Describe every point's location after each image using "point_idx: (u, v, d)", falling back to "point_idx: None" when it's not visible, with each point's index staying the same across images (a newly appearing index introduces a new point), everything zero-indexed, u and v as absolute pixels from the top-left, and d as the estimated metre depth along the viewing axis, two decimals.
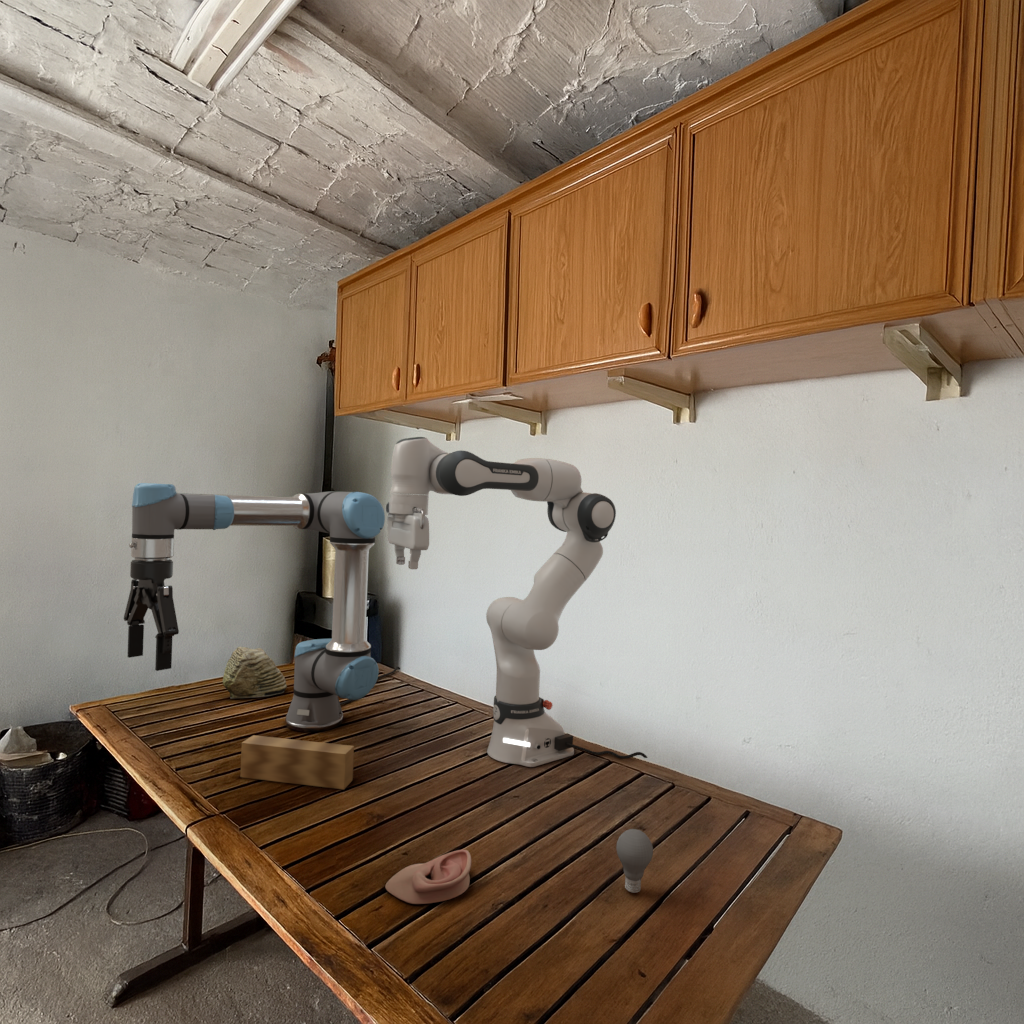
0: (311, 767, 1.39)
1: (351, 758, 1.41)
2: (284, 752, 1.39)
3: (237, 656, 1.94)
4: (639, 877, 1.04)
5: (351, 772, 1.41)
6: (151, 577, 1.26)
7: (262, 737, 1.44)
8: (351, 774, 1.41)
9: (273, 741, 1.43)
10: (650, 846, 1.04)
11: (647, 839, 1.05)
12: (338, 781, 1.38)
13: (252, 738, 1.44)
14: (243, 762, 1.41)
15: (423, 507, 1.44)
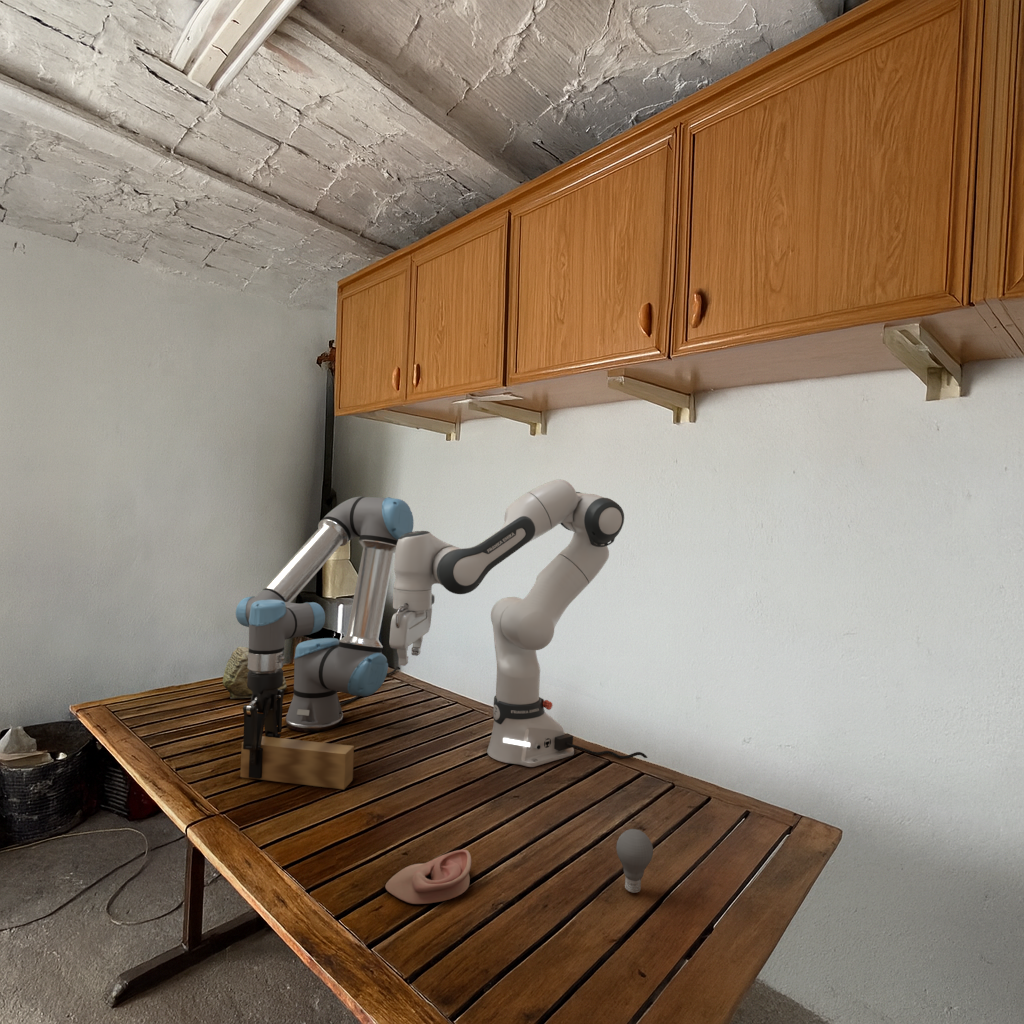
0: (311, 767, 1.39)
1: (351, 758, 1.41)
2: (284, 752, 1.40)
3: (237, 656, 1.94)
4: (639, 877, 1.04)
5: (351, 772, 1.41)
6: None
7: (262, 737, 1.44)
8: (351, 774, 1.41)
9: (273, 741, 1.43)
10: (650, 846, 1.04)
11: (647, 839, 1.05)
12: (338, 781, 1.38)
13: None
14: (243, 762, 1.41)
15: (416, 603, 1.43)
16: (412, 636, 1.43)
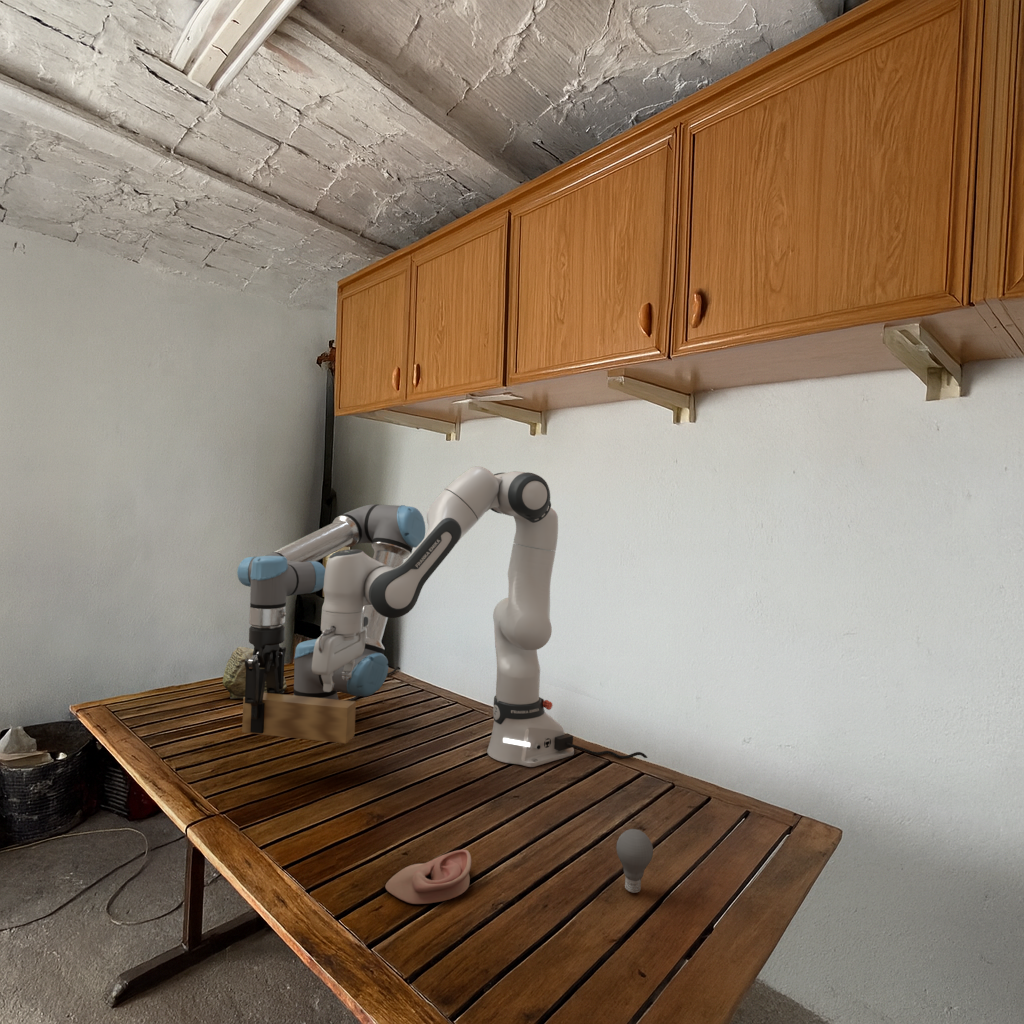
0: (313, 721, 1.38)
1: (352, 713, 1.40)
2: (285, 707, 1.39)
3: (237, 656, 1.94)
4: (639, 877, 1.04)
5: (353, 727, 1.41)
6: None
7: (264, 693, 1.44)
8: (353, 729, 1.41)
9: (275, 696, 1.43)
10: (650, 846, 1.04)
11: (647, 839, 1.05)
12: (340, 735, 1.38)
13: None
14: (245, 717, 1.41)
15: (344, 626, 1.36)
16: (339, 661, 1.36)
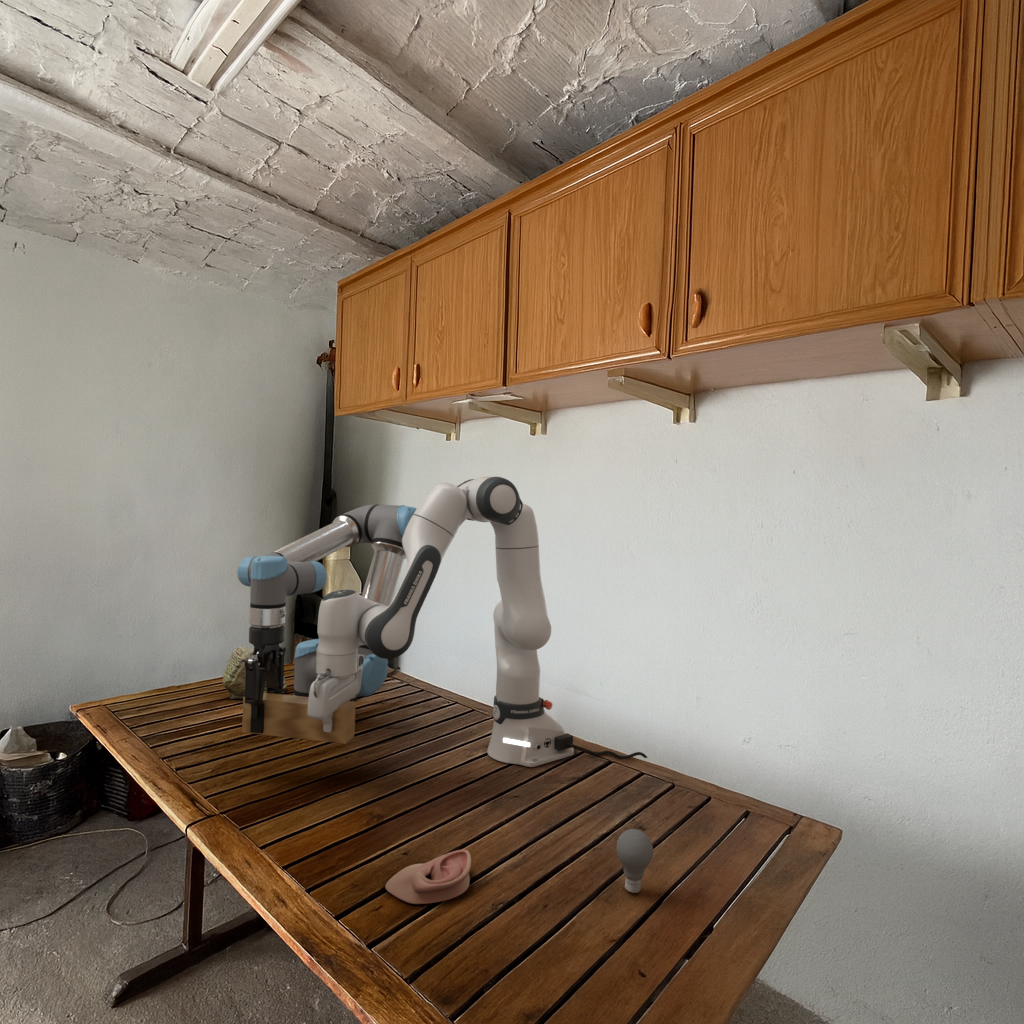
0: (312, 721, 1.38)
1: (352, 713, 1.40)
2: (285, 707, 1.39)
3: (237, 656, 1.94)
4: (639, 877, 1.04)
5: (353, 727, 1.41)
6: None
7: (264, 693, 1.44)
8: (353, 729, 1.41)
9: (274, 696, 1.43)
10: (650, 846, 1.04)
11: (647, 839, 1.05)
12: (340, 735, 1.37)
13: None
14: (245, 717, 1.41)
15: (339, 668, 1.36)
16: (335, 703, 1.36)
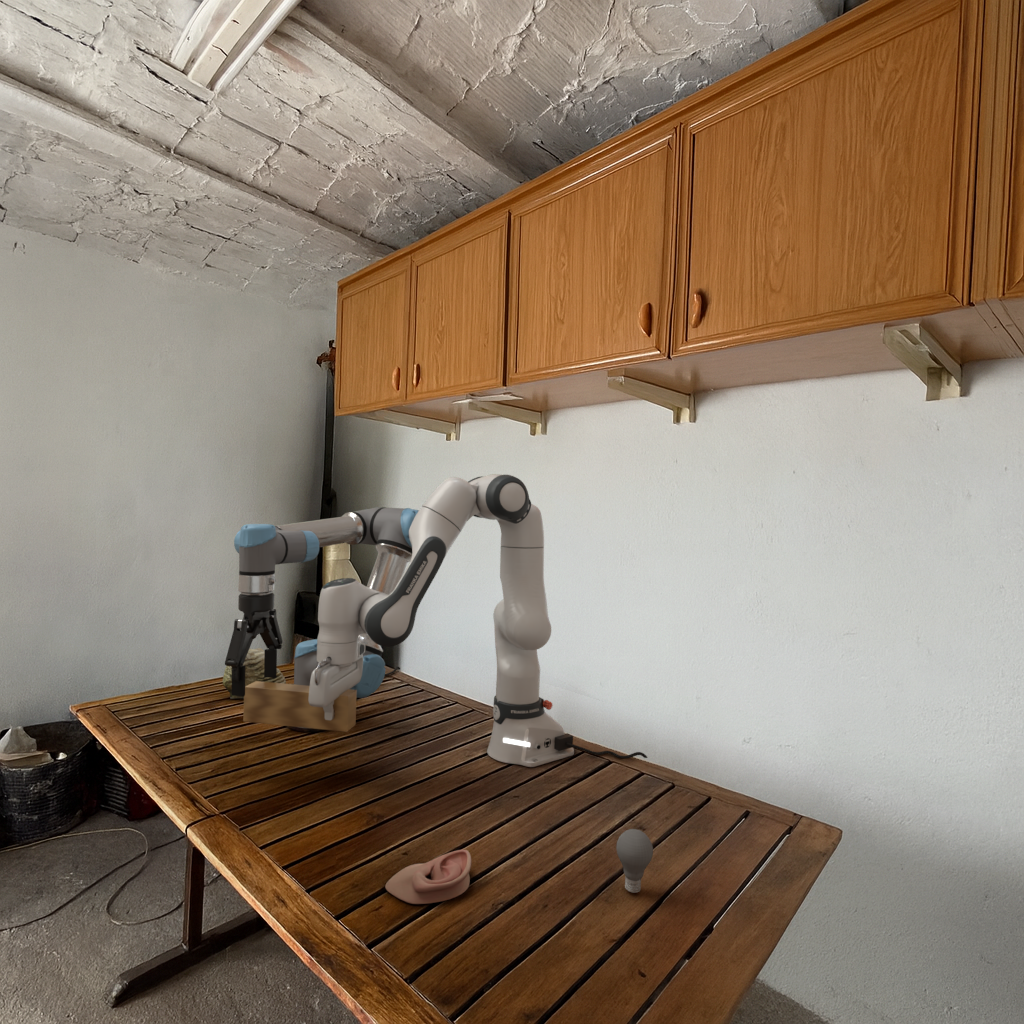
0: (313, 710, 1.38)
1: (353, 701, 1.40)
2: (286, 696, 1.39)
3: None
4: (639, 877, 1.04)
5: (354, 716, 1.41)
6: None
7: (265, 682, 1.44)
8: (354, 718, 1.41)
9: (275, 685, 1.42)
10: (650, 846, 1.04)
11: (647, 839, 1.05)
12: (341, 723, 1.37)
13: (255, 683, 1.43)
14: (246, 706, 1.41)
15: (339, 656, 1.36)
16: (336, 691, 1.36)
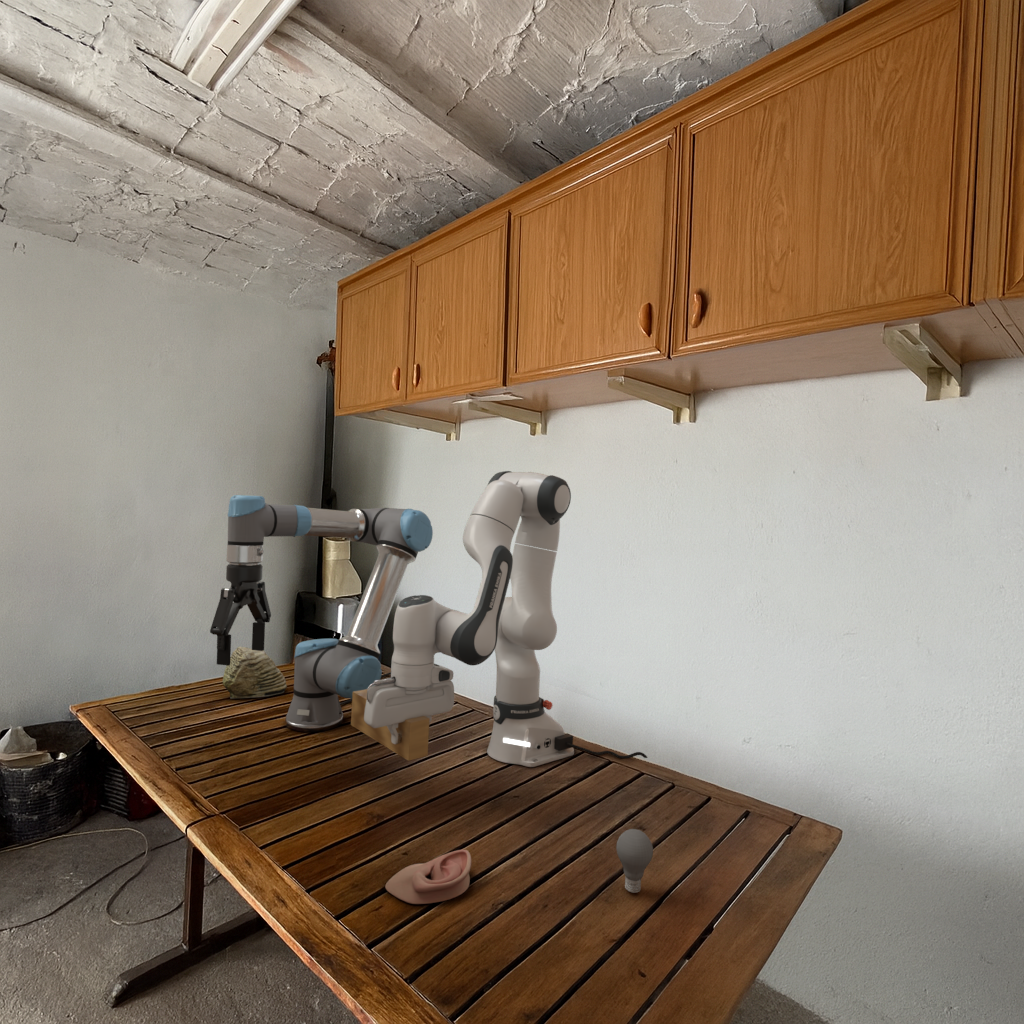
0: None
1: (423, 730, 1.30)
2: None
3: (237, 656, 1.94)
4: (639, 877, 1.04)
5: (424, 746, 1.31)
6: None
7: None
8: (424, 748, 1.31)
9: None
10: (650, 846, 1.04)
11: (647, 839, 1.05)
12: (405, 750, 1.29)
13: (365, 691, 1.47)
14: (352, 711, 1.46)
15: (402, 678, 1.28)
16: (398, 715, 1.28)
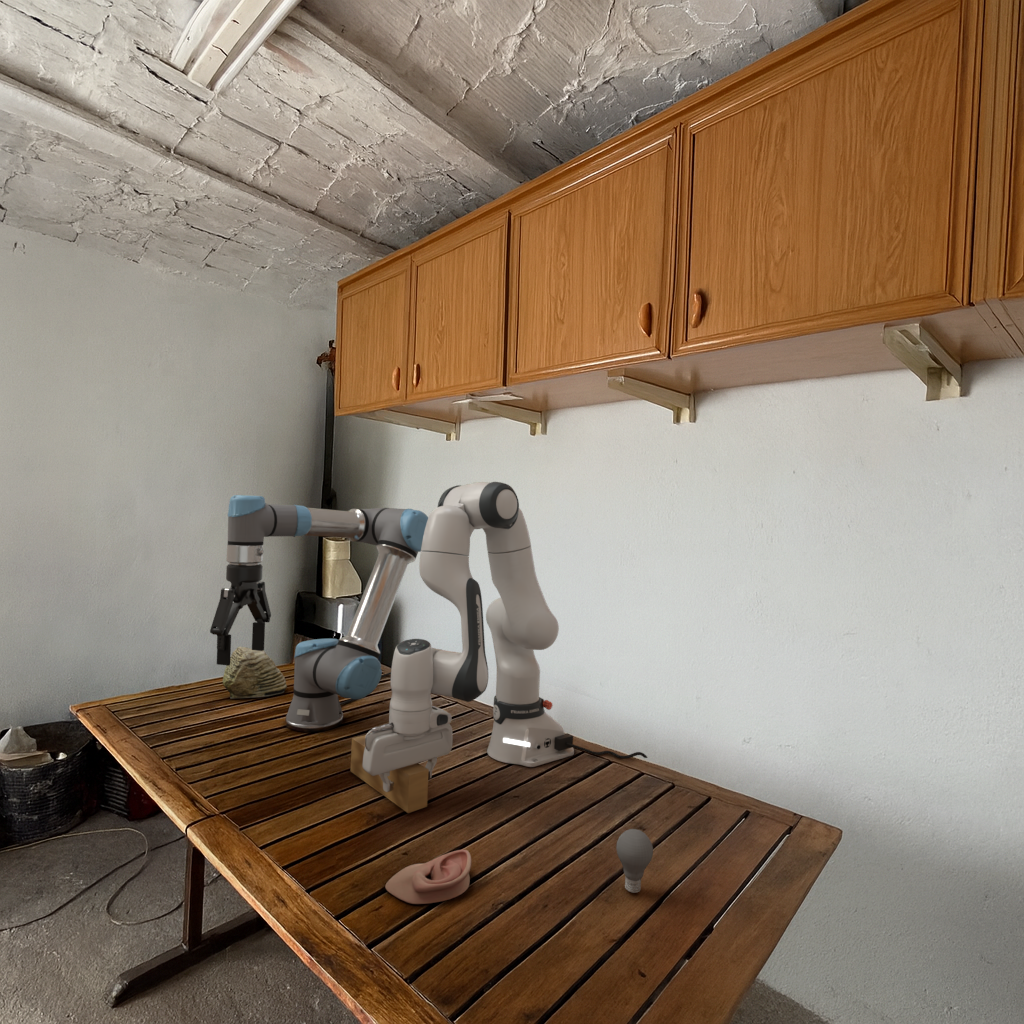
0: None
1: (422, 781, 1.30)
2: None
3: (237, 656, 1.94)
4: (639, 877, 1.04)
5: (423, 797, 1.31)
6: None
7: None
8: (423, 799, 1.31)
9: None
10: (650, 846, 1.04)
11: (647, 839, 1.05)
12: (404, 802, 1.29)
13: (364, 737, 1.47)
14: (352, 757, 1.46)
15: (400, 725, 1.28)
16: (396, 761, 1.29)
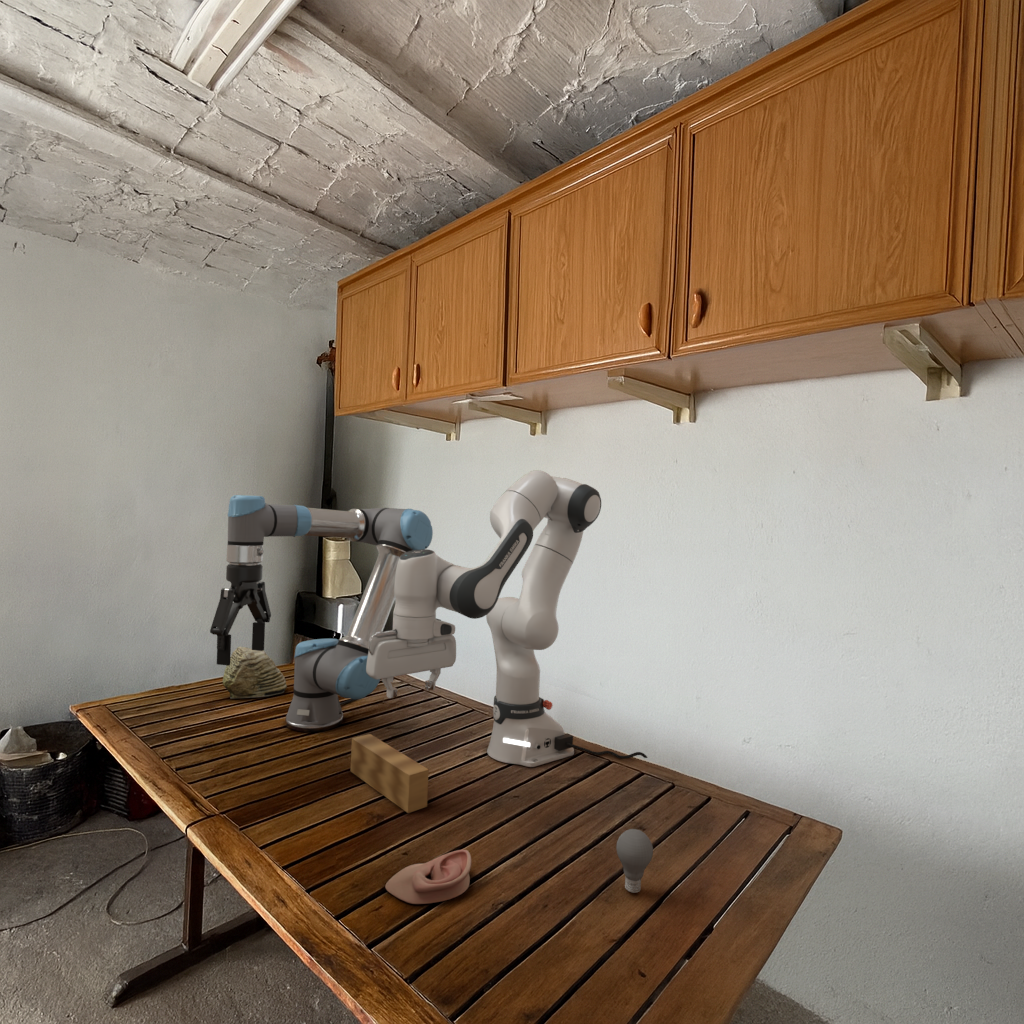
0: (388, 780, 1.34)
1: (422, 781, 1.30)
2: (373, 757, 1.39)
3: (237, 656, 1.94)
4: (639, 877, 1.04)
5: (423, 797, 1.31)
6: None
7: (372, 738, 1.47)
8: (423, 799, 1.31)
9: (375, 743, 1.44)
10: (650, 846, 1.04)
11: (647, 839, 1.05)
12: (404, 802, 1.29)
13: (364, 737, 1.47)
14: (352, 757, 1.46)
15: (404, 631, 1.28)
16: (400, 667, 1.28)
